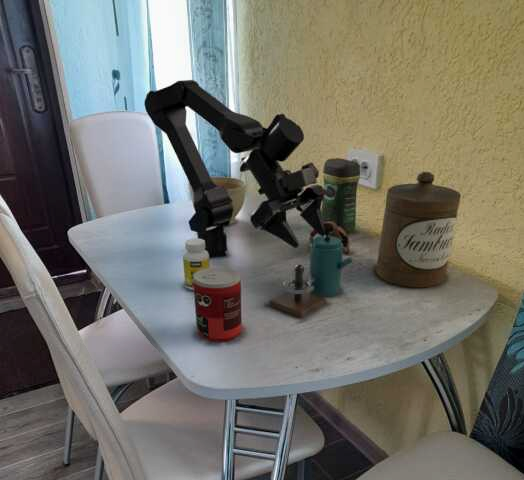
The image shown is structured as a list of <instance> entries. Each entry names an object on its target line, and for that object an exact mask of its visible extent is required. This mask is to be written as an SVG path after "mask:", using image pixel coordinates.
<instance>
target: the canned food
mask: <svg viewBox="0 0 524 480" xmlns="http://www.w3.org/2000/svg"><path fill="white" fill-rule="evenodd" d="M241 281H242V279H241V274H240V272H239V271H237V270H236V269H233V268H230V267H225V266H212V267H211V266H210V268H205V269H202V270H199V271H197V272H196V273H195V274H194V275H193V287H194V290H193V298H194V310H195V323H196V331H197V333H198V336H199V337H200V338H201V339H203V340H205V341H207V342H211V343H227V342H231V341H233V340H235V339H236V338H238V337H239V336H240V335H241V332H242V326H243V321H242V283H241Z"/></svg>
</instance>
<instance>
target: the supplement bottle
mask: <svg viewBox="0 0 524 480" xmlns="http://www.w3.org/2000/svg"><path fill="white" fill-rule="evenodd" d="M184 245H185V250H184V252H183V253H182V262H183V277H184V286H185V288H186V289H189V291H190V290H191V291H194V287H193V275H194V274H195V273H196V272H197V271H199V270H202V269H205V268H210V267H211V266H210V257H209V253H208V252H207V251H206V250H204V249H205V241H204V240H203V239H197V237H195V238H189V239H186V240H185V242H184Z"/></svg>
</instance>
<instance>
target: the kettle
mask: <svg viewBox="0 0 524 480" xmlns="http://www.w3.org/2000/svg"><path fill="white" fill-rule="evenodd" d="M313 239H314V241H313V242H312V243H311V250H310V253H309V254H310V255H309V270H308V271H309V272H308V277H307V278H303V284H302V285H304V286H306V287H304V288H302V289H295V287H291V285H295V278H290V279H287V280H286V281H284V282H283V283H282V285H283V290H284V291H285V292H290V293H292V294H307V293H312V294H315V295H317V296H320V297H323V298H325V297H327V298H328V297H333V296H336V295H338V294H339V293H340V287H341V277H342V269H343V268H345V267H347V266H348V265H350V264H352V263H353V262H354V261H353V258H352V257H347V258H346V259H344V260H343V252H344V247H343V244H342V243H341V240H340V239H339V238H336V237H332V236H329V235H324V236H321V235H319V236H315V237H314V238H313Z"/></svg>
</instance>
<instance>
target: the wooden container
mask: <svg viewBox="0 0 524 480" xmlns="http://www.w3.org/2000/svg"><path fill="white" fill-rule="evenodd" d="M416 180H417V182H416V183H402V184H395V185H393V186H390V187H388V189H387V191H386V198H385V207H384V215H383V221H382V226H381V233H380V239H379V245H378V252H377V253H378V254H377V261H376V270H375V271H376V272H375V273H376V274H377V276H379V278H380V279H382V280H384V281H385V282H388V283H390V284H394V285H397V286H402V287H408V288H429V287H433V286H436V285H439V284H441V283H442V282H443V281H444V280H445V277H446V272H447V269H448V263H449V258H450V254H451V252H452V251H451V250H452V246H453V239H454V233H455V228H456V224H457V217H458V211H459V207H460V202H461V198H462V197H461V196H462V195H461V193H460V192H459V191H457V190H455V189H453V188H450V187H447V186H442V185H437V184H433V182H434V181H435V175H434V174H433V173H432V172H430V171H422V172H421V173H419V174H418V175H417V176H416Z"/></svg>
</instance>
